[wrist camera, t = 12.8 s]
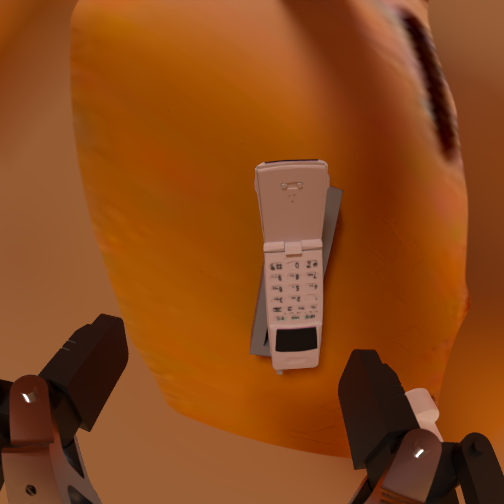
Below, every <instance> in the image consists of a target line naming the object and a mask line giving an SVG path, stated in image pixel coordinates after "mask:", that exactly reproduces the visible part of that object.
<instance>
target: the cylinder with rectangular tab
mask: <svg viewBox="0 0 504 504" xmlns="http://www.w3.org/2000/svg"><path fill="white" fill-rule="evenodd" d="M405 395H406V396H407V398H408V400H409V402H410V405H411V407H412V409H413V412H414V414H415V416H416V419H417V421H418V423H419V426H420V428H422V429H427V430H429V431H431V432H433V433H434V434H435V435H436V436H437V437H438V438H439V440H440V442H444V441H443V439H442V437H441V435H440V433H439V431H438V429H437V427H436V425H435V421H436V420H437V419H438V416H439V411H438V409H437V407H436V405H435V403H434V401H433V400H432V398H431V396H430V394H429V392H428V391H427V390H426V389H425V388H416V389H413V390H410V391H408V392H406V393H405Z"/></svg>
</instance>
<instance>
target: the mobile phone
mask: <svg viewBox="0 0 504 504" xmlns="http://www.w3.org/2000/svg"><path fill="white" fill-rule="evenodd" d="M255 176H256V179H254V183H255V191H256V193H257V196H258V203H259V210H260V217H261V224H262V231H264V232H263V238H265V242H264V260H265V264H264V277H265V297H266V313H267V325H268V335H269V344H270V353H271V357H272V365H273V368H274V369H275V370H276V371H277V374H283V369H298V368H311V367H316V366H317V365H318V362H319V354H320V344H321V340H322V339H321V334H322V318H323V264H322V247H323V246H322V241H321V238H322V230H323V222H324V213H325V203H326V193H327V189H328V188H329V182H330V176H329V175H328V164H327V163H326V162H324V161H322V160H318V159H312V160H281V161H272V162H264V163H261V164H259V165H258V166H257V167H256V169H255Z"/></svg>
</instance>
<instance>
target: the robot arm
mask: <svg viewBox="0 0 504 504" xmlns="http://www.w3.org/2000/svg"><path fill="white" fill-rule="evenodd" d="M128 354H129V353H128V346H127V341H126V335H125V329H124V323H123V320H122V319H121V318H119V317H115V316H111V315H106V314H100V315H99V316H98V317H97V318H96V320H95V321H94V322H93V323H92V324H87V325H85V326H83V327H81V328H80V329H78V330H76V331H75V332H74V334H73V335H72V336H71V337H70V338H69V341H67V342H66V343H65V344H64V345H63V346H62V348H61V349H60V350H59V351H58V352H57V353H56V354H55V356H54V357H53V358H52V359H51V360H50V361H49V363H48V364H47V365H46V366H45V367H44V369H43V370H42V371H41V372H40V374H39V375H38V376H37V375H24V376H22V377H20V378H18V379H17V380H16V381H15V382H10V381H6V380H1V379H0V490H1V488H2V486H3V483H4V481H5V486H6V492H7V497H8V502H9V504H102V502H101V500H100V498H99V497H98V495H97V493H96V491H95V490H94V488H93V486H92V485H91V483H90V480H89V477H88V474H87V471H86V468H85V465H84V461H83V458H82V455H81V451H80V447H79V444H78V439H77V436H76V432H77V430H78V428H81V429H84V430H86V431H88V432H90V431H91V429H92V427H93V425H94V424H95V422H96V420H97V418H98V416H99V414H100V412H101V410H102V408H103V407H104V405H105V403H106V401H107V399H108V397H109V396H110V394H111V392H112V390H113V388H114V387H115V385H116V383H117V381H118V379H119V378H120V376H121V374H122V372H123V371H124V369H125V367H126V365H127V362H128ZM338 396H339V400H340V404H341V409H342V413H343V418H344V422H345V427H346V431H347V436H348V440H349V445H350V450H351V455H352V460H353V465H354V469H355V470H357V469H365V468H366V469H367V474H368V475H367V476H366V477H365V478H364V480H363V481H362V483H361V484H360V486H359V488H358V489H357V491H356V492H355V494H354V495H353V497H352V499H351V500H350V502H349V503H348V504H459V501H458V498H457V494H456V490H455V488H456V487H458V486H459V485H461V488H462V492H463V496H464V499H465V503H466V504H504V475H503V473H502V470H501V467H500V465H499V462H498V460H497V457H496V455H495V452H494V450H493V448H492V445H491V443H490V441H489V440H488V439H487V438H486V437H485V436H484V435H482V434H480V433H476V432H475V433H470V434H468V435H467V436H466V437H465V438H464V439H463V440H462V441H461V442H460V443H454V442H440V440H439V438H438V437H437V436H436V435H435V434H434V433H433V432H431V431H429V430H427V429H422V428H420V426H419V423H418V421H417V419H416V416H415V414H414V412H413V409H412V407H411V405H410V402H409V400H408V398H407V396H406V395H405V391H404V389H403V387H402V386H401V383H400V381H399V379H398V376H397V374H396V373H395V372H394V371H393V370H392V369H391V368H390V367H389V366H388V365H387V364H382V362H381V360H380V358H379V356H378V354H377V352H376V351H375V350H361V349H355V350H353V351H352V353H351V355H350V358H349V360H348V362H347V365H346V367H345V369H344V372H343V374H342V376H341V378H340V381H339V386H338Z"/></svg>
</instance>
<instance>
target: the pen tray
mask: <svg viewBox="0 0 504 504" xmlns="http://www.w3.org/2000/svg"><path fill="white" fill-rule="evenodd" d="M342 192H343V190H341V189H338V188H336V187H333V186H329V188H328V189H327V193H326V203H325V213H324V222H323V230H322V238H321V241H322V246H323V247H322V264H323V279H324V275H325V271H326V267H327V263H328V258H329V254H330V250H331V246H332V241H333V237H334V232H335V227H336V223H337V218H338V213H339V208H340V203H341V198H342ZM264 264H265V260H264V262H263V268H262V274H261V280H260V286H259V292H258V297H257V303H256V309H255V315H254V321H253V327H252V332H251V341H250V353H249V354H254V355H262V356H271V353H270V344H269V335H268V325H267V313H266V297H265V277H264Z"/></svg>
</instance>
